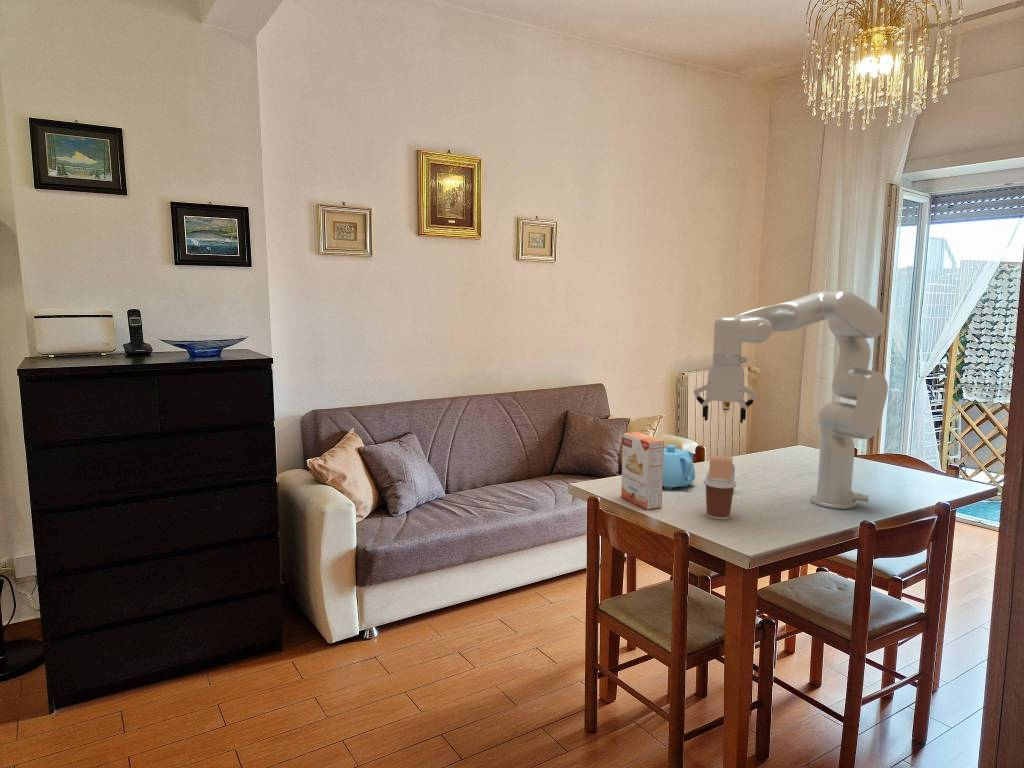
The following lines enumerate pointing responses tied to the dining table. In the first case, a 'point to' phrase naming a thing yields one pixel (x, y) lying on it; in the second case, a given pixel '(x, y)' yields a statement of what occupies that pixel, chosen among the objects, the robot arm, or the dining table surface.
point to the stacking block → (720, 467)
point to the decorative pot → (677, 467)
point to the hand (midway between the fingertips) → (723, 420)
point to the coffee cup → (719, 497)
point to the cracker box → (642, 470)
